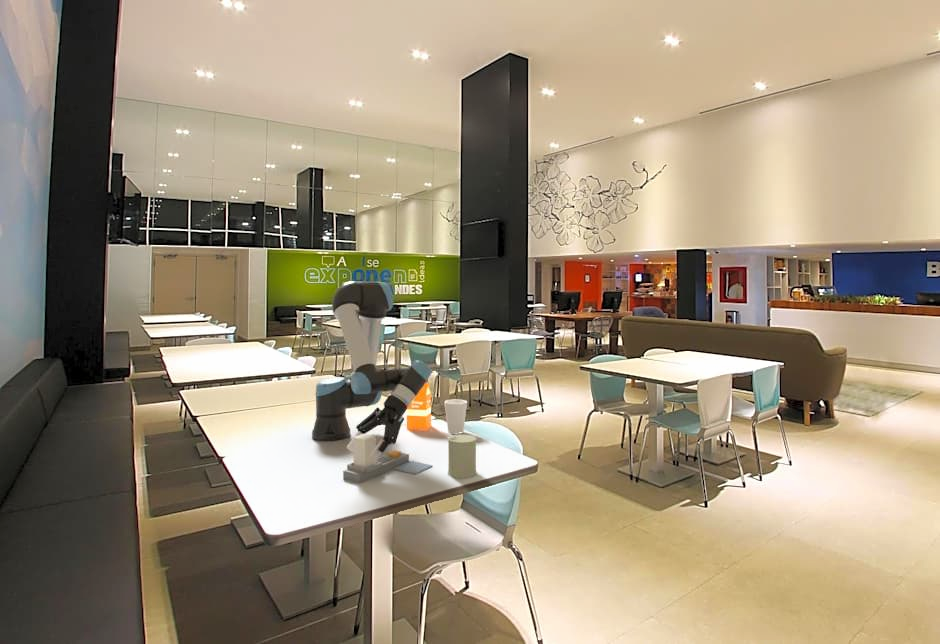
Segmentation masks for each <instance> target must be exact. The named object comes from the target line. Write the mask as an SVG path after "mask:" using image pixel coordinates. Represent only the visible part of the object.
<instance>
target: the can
mask: <svg viewBox="0 0 940 644" xmlns="http://www.w3.org/2000/svg"><path fill="white" fill-rule="evenodd" d="M447 440H448V441H447V442H448V471H447V475H448V476H449V477H451V478H455V479H469V478H473V477H474V476H476V475H477V454H476V453H477V438H476V436H474V435H472V434H471V435H470V434H452V435H450V436H449V437H447Z"/></svg>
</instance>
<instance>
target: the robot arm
mask: <svg viewBox="0 0 940 644" xmlns="http://www.w3.org/2000/svg"><path fill="white" fill-rule="evenodd" d="M331 304H332V305H331V310H332V313H333V316H334V318H336V319H337V320H338V322H339V326H340V330H341V333H342V336H343V338H344V342H345V346H346V349H347V352H348V355H349V358H350V362H351V364H352V368H353V370H354V371H352V372H351V373H350V375H349V379H347V380H346V378H345V377H343V376H342V377H341V376H338V377H329V378H326V379H321V380H320V381H318V382H317V383H316V385H315V386H316V387H315V413H316V415H315V417H316V418H315V422H314V425H313V429H312V432H311V438H312V439H313V440H316V441H324V442H326V441H327V442H328V441H338V440H343V439H346V438H348V437H350V436H351V427H350V426H349V423H348V419H347V415H346V414H347V413H346V411H347V410H346V409H353V408H361V407H370V406H374V405H377V404H378V403H379V402H380V401H381V398H382V395H383V392H384V393H385V392H391V393H390V395H389V396H388V397H387V398H386V399H385V401H384V402H383V406H384V407H383V408H382V409H380V408H379V407H376V408H375V409H374V410H373V412H371V413H369V415H368V416H367V417H365V419H363V420H361V422H360V423H359V424H357V425H356V426H355V428H356V429H357V432H356V433H355V435H354V436H353V437H356V436H359V435H362V434H368V432H370V431H372V430H373V429H374V428H377V427H378V426H385V427H384V434H383V437H382V439H380V441H379V442H378V444H376V448H375V449H374V450H373V452H372V453H371V455H370V456H369V458H370V459H372V460H373V461H374V462H376V461H377V459H378V458H379V457H380V456H382V455H383V453H384V451H386V449H387V448H388V446H390V445H391V444H393V445H395V444H396V443H397V439H398V437H399V433H400V430H401V427H402V424H403V423H404V420H405V418H404V417H403V415H404V414H405V413H406V412H407V406H409V405H410V404H411V402H412V401H413V400H414V398H415V397H416V395H417V394H418V393H419V391H420V390H421V389H422V387H423V386H424V384H425V383H426V382H428V381H429V378H430V376H431V375H432V374H433V373H432V369H431V367H429V365H428V364H427V363H425V362H424V361H422V360H418V359H417V360H414V361H413V363H412V364H411V365H410V366H409V367H407V368H400V367H399V368H392V369H384V370H383V369H382V370H381V369H380V370H377V364H378V363H377V361H378V354H379V352H378V351H379V345H380V336H381V327H382V322H383V321H382V320H383V319H385V318H386V317H387V312H389V311H391V310H392V308H393V306H394V295H393V291H392V289H391V287H390V285H389V284H388V283H386V282H383V281H382V282H381V281H355V280H353V281H347V282H344V283H343V284H342V285H340V286H339V287H338V288H337V289H336V291H335V292H334V294H333V298H332V303H331ZM346 449H347V450H349V451H350V452H351V453H353V438H352V439H351V440H350V442H349V443H348V444H347V446H346Z"/></svg>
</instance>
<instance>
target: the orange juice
mask: <svg viewBox="0 0 940 644" xmlns="http://www.w3.org/2000/svg"><path fill="white" fill-rule="evenodd" d="M431 401H432V393H431V389H430V383H429V382H428V381H427V382H426V383H425V384H424V386H423V387H422V389H421V390H420V391H419V393H418V394H417V395H416V397H415V398H414V400H413V401H412V402H411V404H410V405H409V406H407V410H406V430H416V429H417V430H418V431H420V430H421V431H427V430H428V429H429V428H430V427H432V402H431ZM417 430H416V431H417Z"/></svg>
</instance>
